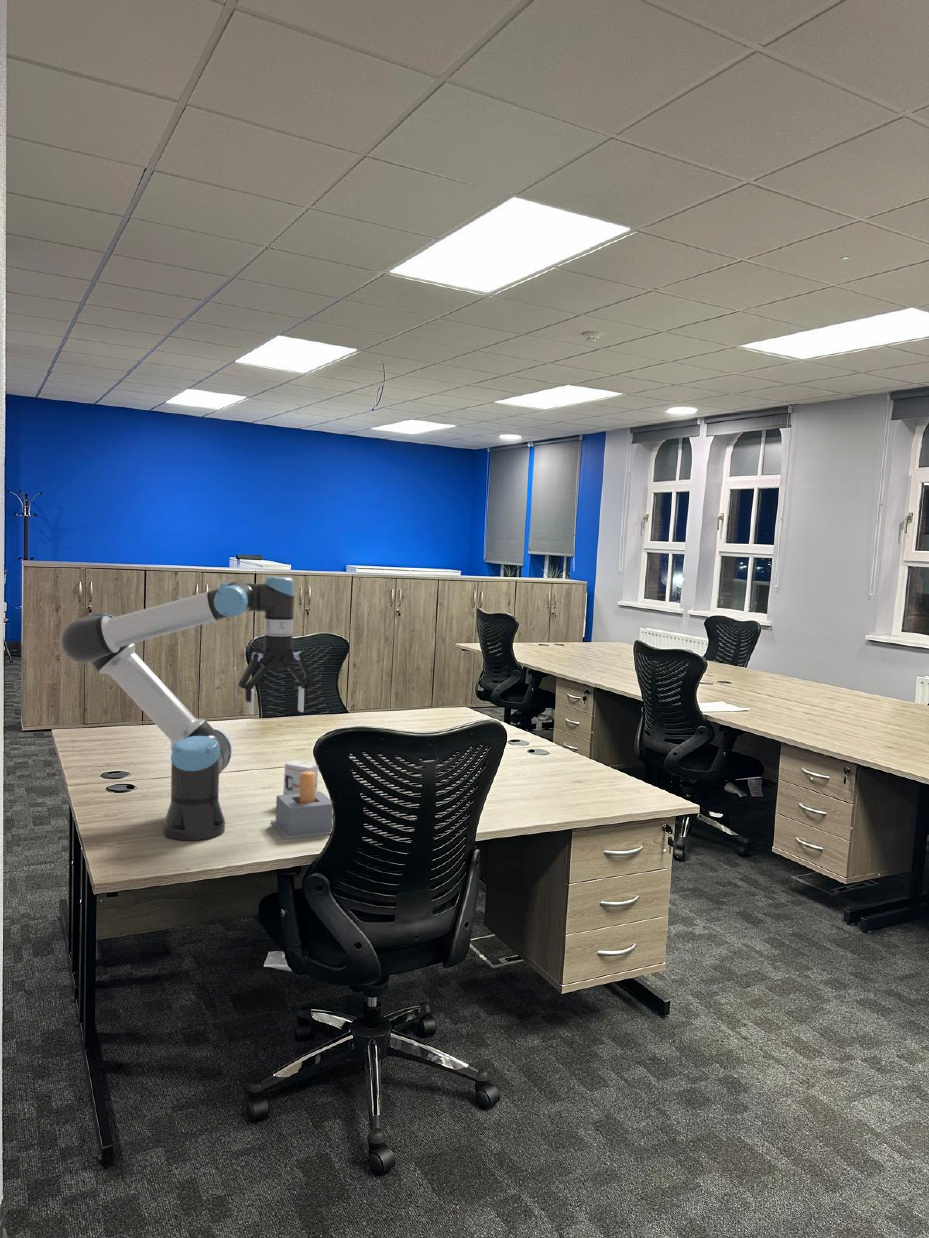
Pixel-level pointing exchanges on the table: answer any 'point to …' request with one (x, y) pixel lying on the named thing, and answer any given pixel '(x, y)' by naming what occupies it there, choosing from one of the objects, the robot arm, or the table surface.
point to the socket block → (303, 816)
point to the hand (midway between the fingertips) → (276, 712)
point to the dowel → (307, 787)
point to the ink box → (297, 775)
